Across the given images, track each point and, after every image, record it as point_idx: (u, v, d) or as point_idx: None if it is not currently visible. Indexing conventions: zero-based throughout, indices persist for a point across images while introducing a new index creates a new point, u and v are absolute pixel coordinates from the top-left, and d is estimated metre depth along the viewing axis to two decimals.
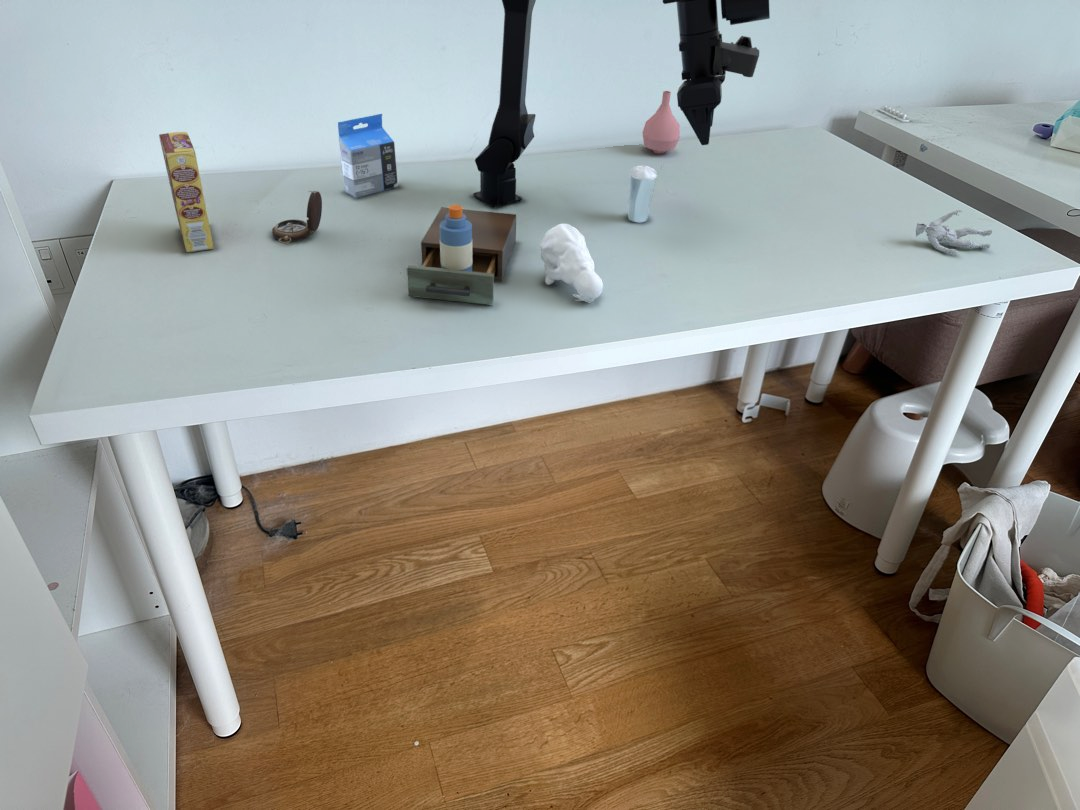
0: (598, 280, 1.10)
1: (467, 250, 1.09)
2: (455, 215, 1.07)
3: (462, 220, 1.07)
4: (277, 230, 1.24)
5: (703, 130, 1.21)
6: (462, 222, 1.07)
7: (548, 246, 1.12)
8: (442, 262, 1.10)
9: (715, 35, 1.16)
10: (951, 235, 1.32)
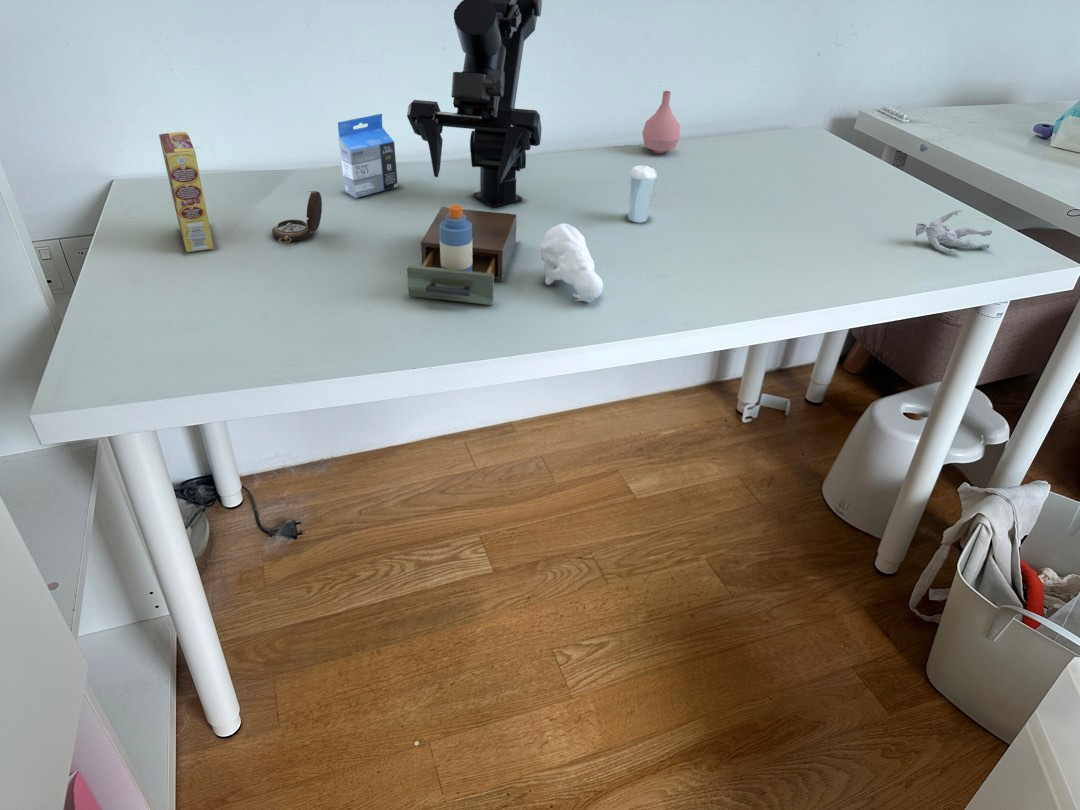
0: (598, 280, 1.10)
1: (467, 250, 1.09)
2: (455, 215, 1.07)
3: (462, 220, 1.07)
4: (277, 230, 1.24)
5: None
6: (462, 222, 1.07)
7: (548, 246, 1.12)
8: (442, 262, 1.10)
9: (469, 72, 1.12)
10: (951, 235, 1.32)
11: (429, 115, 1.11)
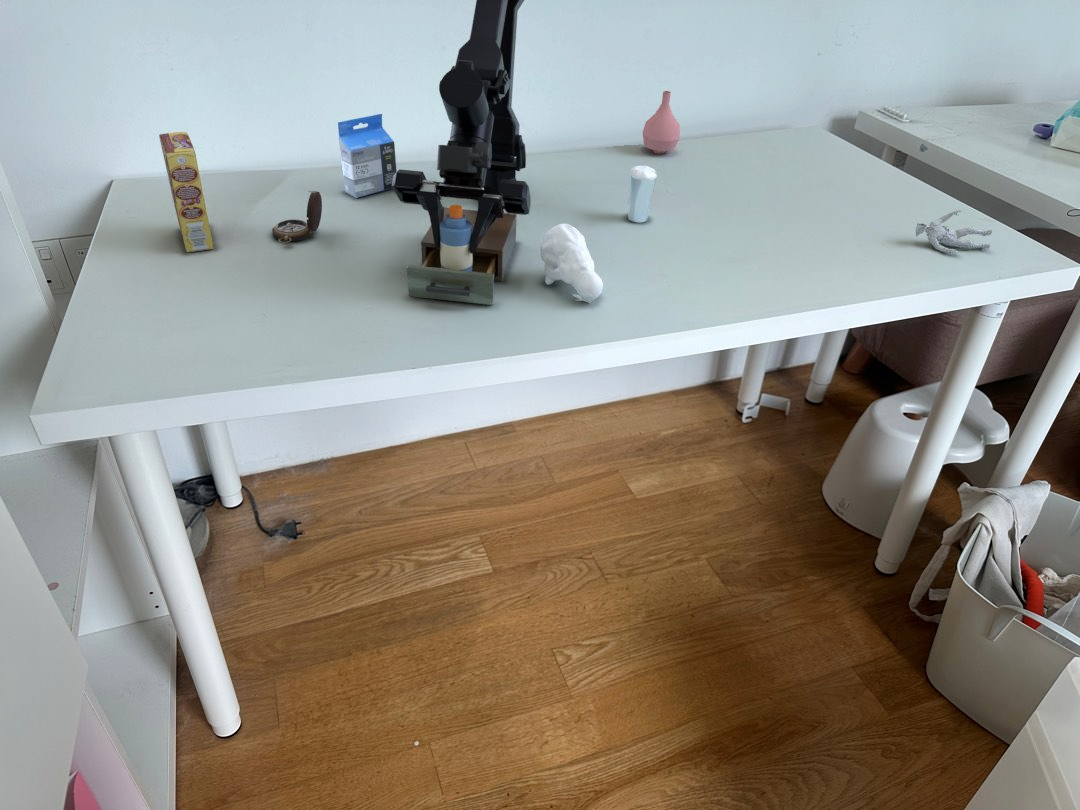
0: (598, 280, 1.10)
1: (467, 250, 1.09)
2: (455, 215, 1.07)
3: (462, 220, 1.07)
4: (277, 230, 1.24)
5: None
6: (462, 222, 1.07)
7: (548, 246, 1.12)
8: (442, 262, 1.10)
9: (456, 140, 1.09)
10: (951, 235, 1.32)
11: (414, 186, 1.08)
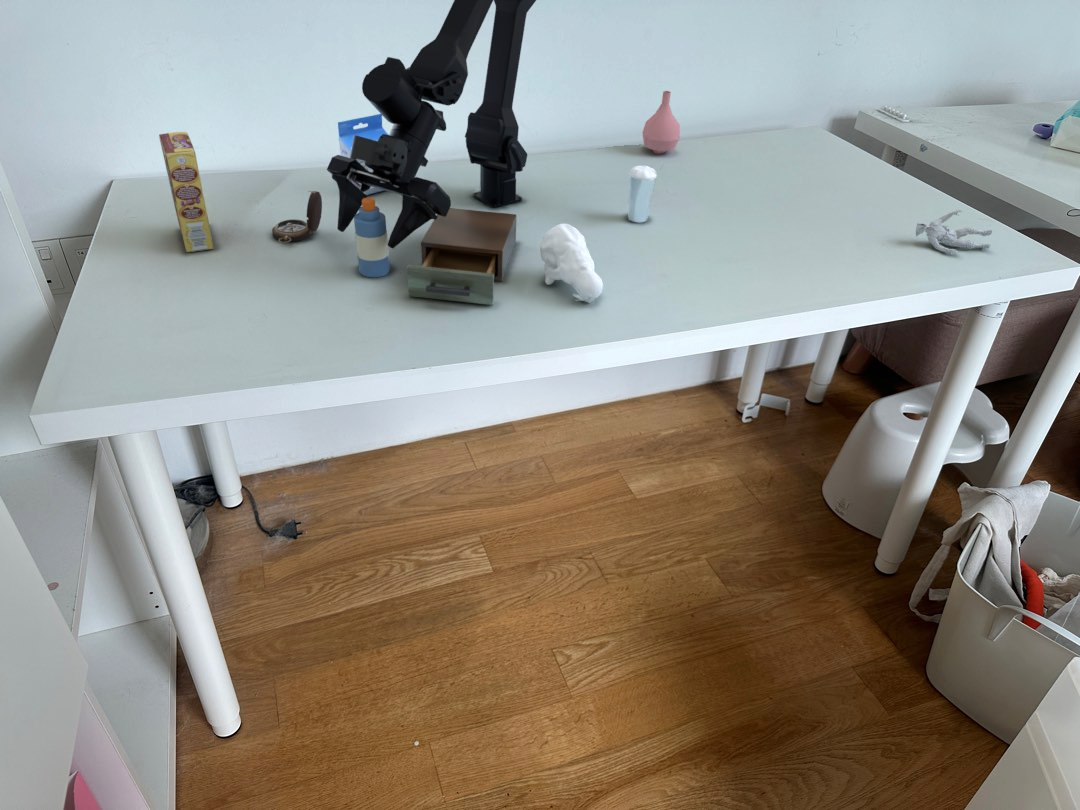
0: (598, 280, 1.10)
1: (375, 242, 1.13)
2: (365, 207, 1.11)
3: (371, 213, 1.11)
4: (277, 230, 1.24)
5: None
6: (371, 215, 1.11)
7: (548, 246, 1.12)
8: (357, 250, 1.15)
9: (390, 135, 1.12)
10: (951, 235, 1.32)
11: (342, 172, 1.13)
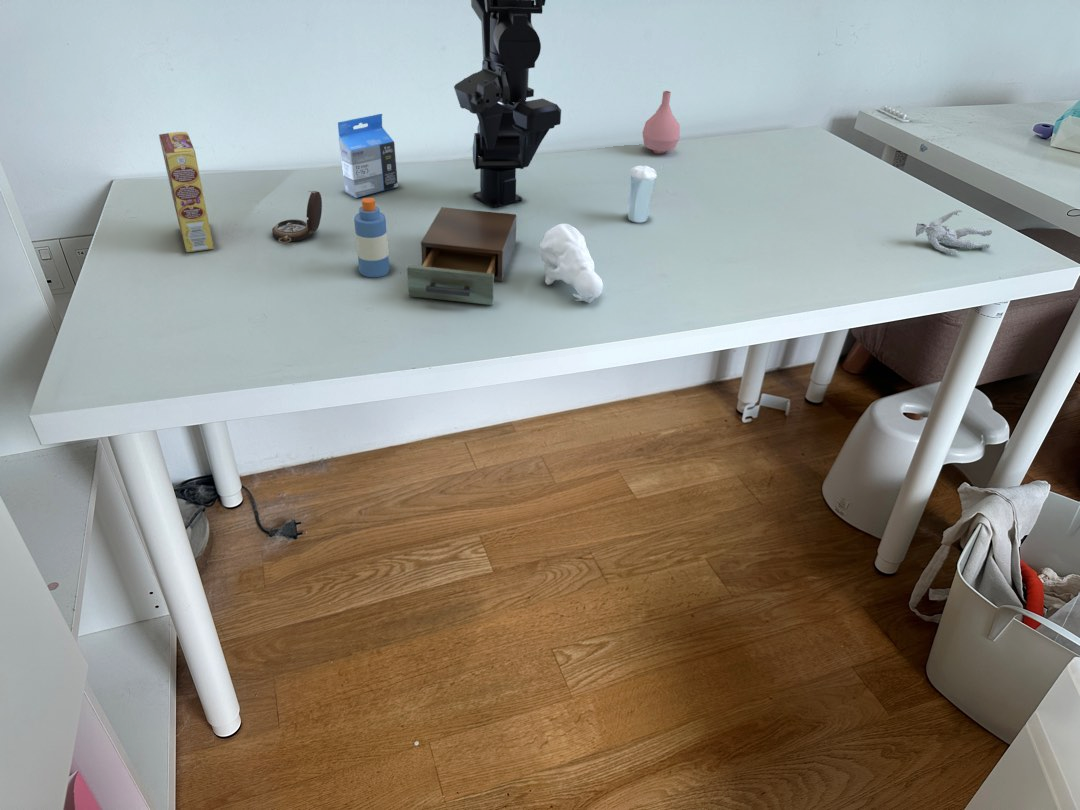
0: (598, 280, 1.10)
1: (375, 242, 1.13)
2: (365, 207, 1.11)
3: (371, 213, 1.11)
4: (277, 230, 1.24)
5: None
6: (371, 215, 1.11)
7: (548, 246, 1.12)
8: (357, 250, 1.15)
9: (490, 56, 1.15)
10: (951, 235, 1.32)
11: None
